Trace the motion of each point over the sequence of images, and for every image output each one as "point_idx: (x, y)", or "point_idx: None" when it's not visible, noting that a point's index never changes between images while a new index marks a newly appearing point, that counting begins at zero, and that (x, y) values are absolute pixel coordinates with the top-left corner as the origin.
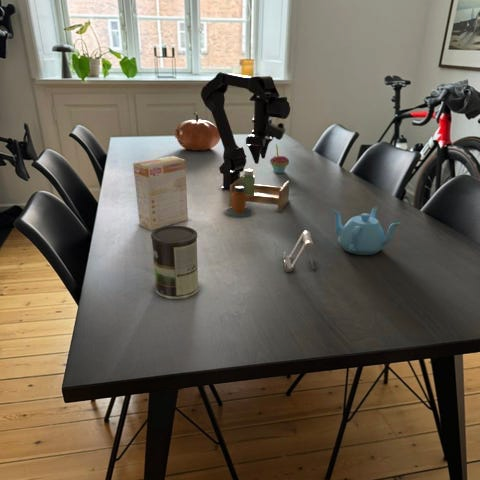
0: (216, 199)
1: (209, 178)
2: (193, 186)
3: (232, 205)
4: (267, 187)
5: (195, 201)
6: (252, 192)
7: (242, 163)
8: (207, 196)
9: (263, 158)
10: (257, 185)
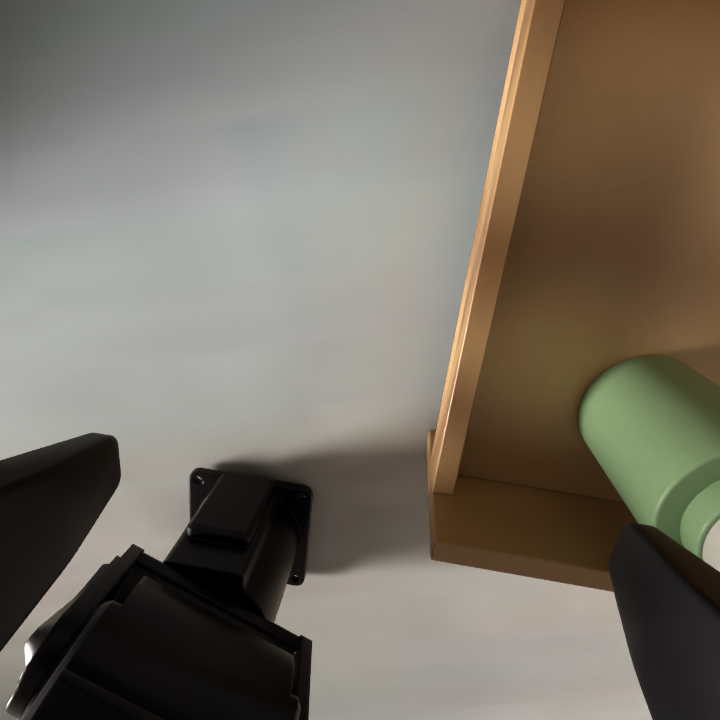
0: (550, 583)
1: None
2: None
3: None
4: (509, 233)
5: (610, 682)
6: (699, 373)
7: (181, 639)
8: (488, 635)
9: (117, 450)
10: (483, 353)
